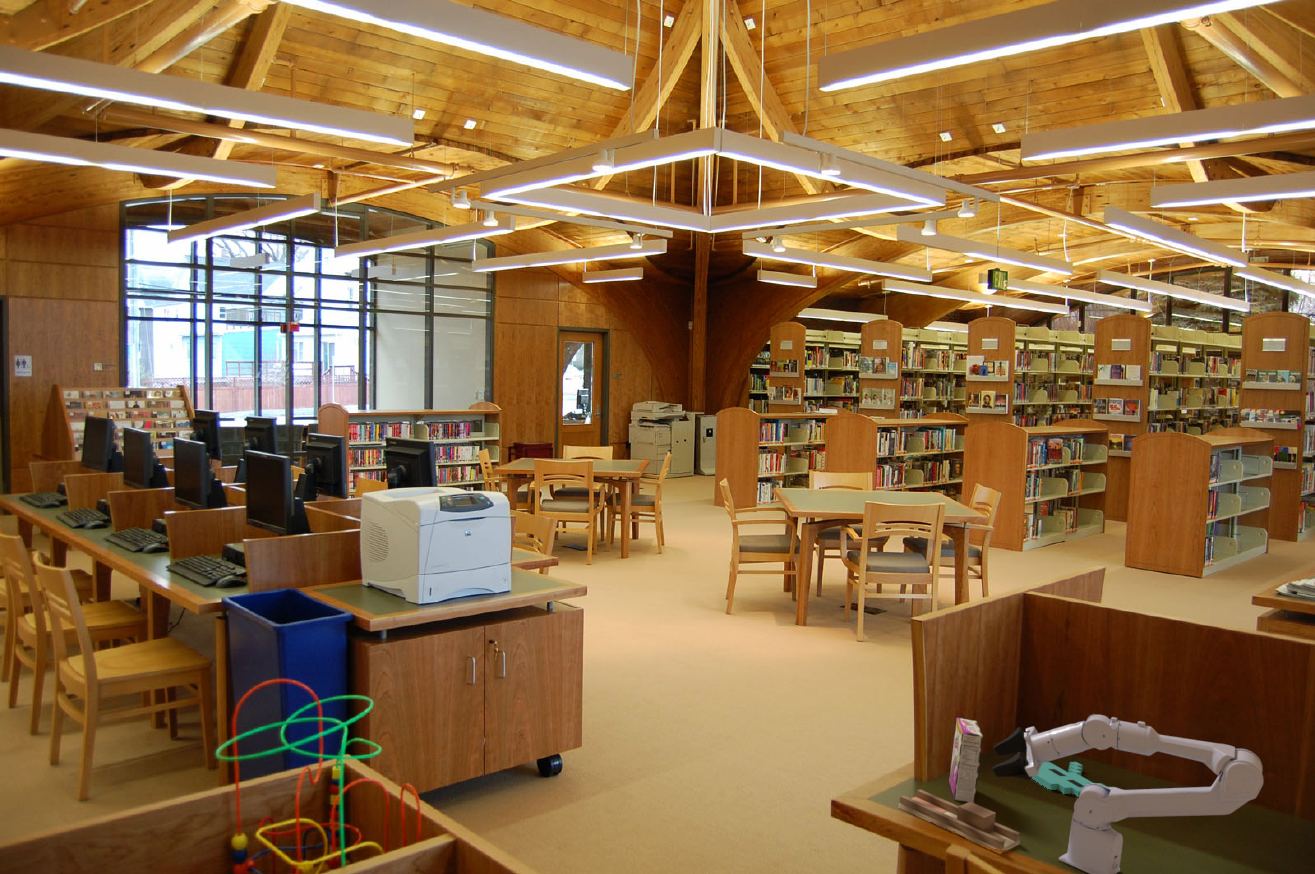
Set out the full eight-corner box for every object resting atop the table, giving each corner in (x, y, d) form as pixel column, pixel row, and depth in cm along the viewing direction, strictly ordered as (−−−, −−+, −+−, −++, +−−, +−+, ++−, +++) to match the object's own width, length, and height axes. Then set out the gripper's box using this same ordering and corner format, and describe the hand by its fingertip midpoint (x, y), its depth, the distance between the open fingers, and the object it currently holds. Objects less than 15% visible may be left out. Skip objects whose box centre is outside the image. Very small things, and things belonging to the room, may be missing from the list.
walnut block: (993, 830, 197) (995, 812, 197) (982, 836, 194) (984, 817, 194) (967, 819, 202) (970, 801, 201) (956, 824, 198) (958, 806, 198)
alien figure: (1075, 769, 247) (1013, 770, 241) (1076, 761, 247) (1015, 762, 241) (1134, 803, 228) (1069, 804, 222) (1135, 794, 228) (1070, 795, 222)
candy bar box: (947, 782, 225) (956, 716, 225) (968, 786, 224) (977, 720, 224) (952, 800, 214) (961, 731, 214) (974, 804, 213) (984, 735, 213)
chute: (1019, 844, 195) (1020, 832, 195) (999, 854, 189) (1000, 842, 189) (919, 799, 212) (920, 788, 212) (898, 807, 206) (899, 796, 206)
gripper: (1046, 708, 199) (987, 726, 205) (1047, 748, 186) (984, 766, 193) (1062, 735, 200) (1003, 752, 206) (1064, 776, 187) (1001, 793, 193)
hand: (995, 761), depth 199 cm, fingers open, 7 cm apart
